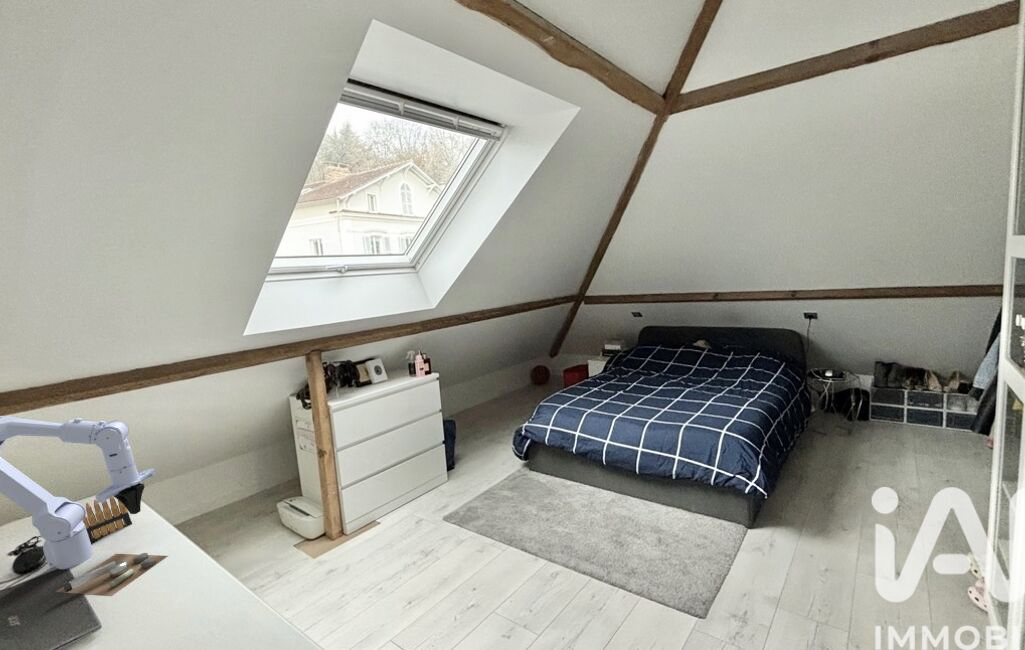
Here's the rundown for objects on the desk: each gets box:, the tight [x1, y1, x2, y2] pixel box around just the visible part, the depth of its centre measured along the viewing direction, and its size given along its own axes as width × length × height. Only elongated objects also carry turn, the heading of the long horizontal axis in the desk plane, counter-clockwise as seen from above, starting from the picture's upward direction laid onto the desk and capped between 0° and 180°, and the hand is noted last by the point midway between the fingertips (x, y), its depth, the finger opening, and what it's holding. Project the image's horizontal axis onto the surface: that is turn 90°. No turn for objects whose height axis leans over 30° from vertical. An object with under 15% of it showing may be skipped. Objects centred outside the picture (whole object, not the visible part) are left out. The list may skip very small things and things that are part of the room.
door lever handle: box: [61, 561, 129, 592], centre depth 115 cm, size 12×4×3 cm, turn 139°
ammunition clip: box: [83, 496, 133, 546], centre depth 139 cm, size 11×2×12 cm, turn 137°
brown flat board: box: [55, 552, 169, 597], centre depth 119 cm, size 18×14×3 cm
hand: (135, 512), depth 131 cm, fingers closed
